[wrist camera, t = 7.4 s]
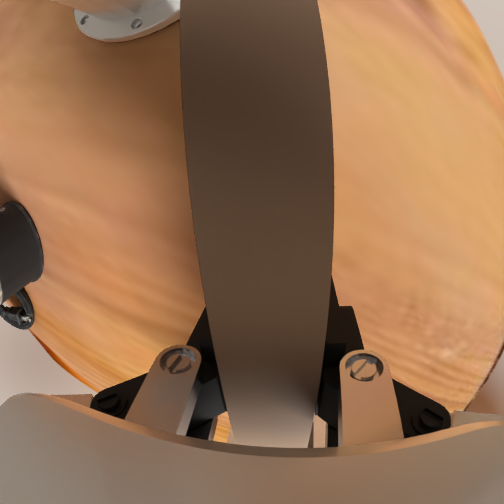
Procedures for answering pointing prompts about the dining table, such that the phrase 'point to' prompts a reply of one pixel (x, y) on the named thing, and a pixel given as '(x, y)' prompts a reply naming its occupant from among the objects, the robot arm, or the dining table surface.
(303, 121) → the bar
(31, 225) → the milk frother
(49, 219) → the dining table surface
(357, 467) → the robot arm
